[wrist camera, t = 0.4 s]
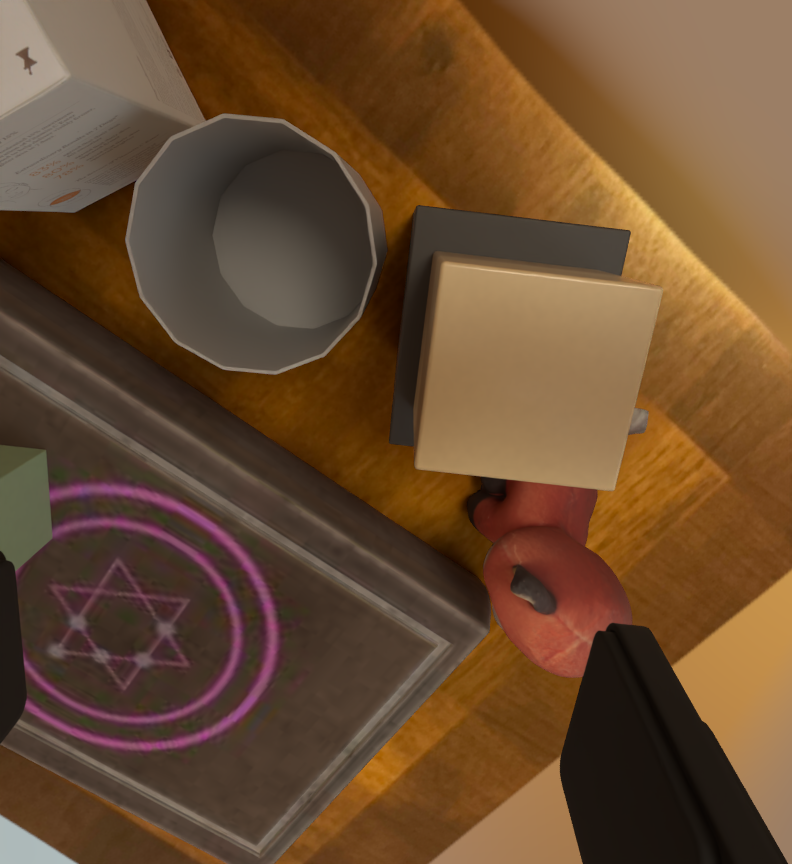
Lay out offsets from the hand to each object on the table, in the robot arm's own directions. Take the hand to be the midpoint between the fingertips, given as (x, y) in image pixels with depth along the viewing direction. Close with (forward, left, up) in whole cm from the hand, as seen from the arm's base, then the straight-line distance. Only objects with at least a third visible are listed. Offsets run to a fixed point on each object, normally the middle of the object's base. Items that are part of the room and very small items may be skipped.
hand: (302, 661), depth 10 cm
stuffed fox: (+5, +10, -24) cm, 26 cm away
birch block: (-4, +4, -9) cm, 11 cm away
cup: (-5, -4, -24) cm, 25 cm away
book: (+14, -11, -24) cm, 30 cm away
